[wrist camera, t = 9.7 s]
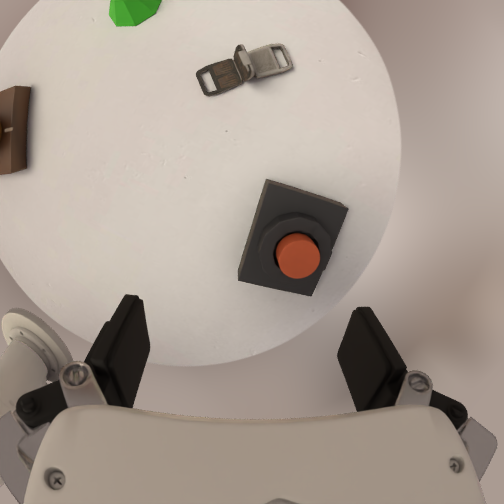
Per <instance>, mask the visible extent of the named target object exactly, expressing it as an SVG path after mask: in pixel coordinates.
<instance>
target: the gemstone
mask: <svg viewBox="0 0 504 504" xmlns="http://www.w3.org/2000/svg"><path fill="white" fill-rule="evenodd" d="M160 2H161V0H111V1H110V9H109V16H110V17H111V19H112V20H113V22H114V23H115V25H116V26H137V25H138V24H140V23H141V22H143V21H144V20H146V19H147V18H149V17H151V16H152V15H154V14H156V11H157V9H158V7H159V5H160Z"/></svg>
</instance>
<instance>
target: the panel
mask: <svg viewBox="0 0 504 504" xmlns="http://www.w3.org/2000/svg"><path fill="white" fill-rule="evenodd" d="M30 89H31V87H26V86H13V87H11V88H8V89H6V90H3V91H1V92H0V122H1V128H2V132H1V139H0V175H2V174H11V173H14V172H17V171H20V170H23V169H26V168H27V163H26V141H27V119H28V106H29V97H30Z"/></svg>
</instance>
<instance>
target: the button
mask: <svg viewBox="0 0 504 504" xmlns="http://www.w3.org/2000/svg"><path fill="white" fill-rule="evenodd" d="M276 257H277V260H278V263H279V267H280V269H281V271H282V272H283V273H284V274H285V275H287V276H288V277H291V278H297V279H298V278H304V277H307V276H309V275H310V274H312V273H313V272H314V271H315V270H316V268H317V267H318V265H319V262H320V253H319V250H318V248H317V247H316V245H315V244H314V242H313V241H312V239H311V238H310V237H308V236H307V235H305V234H301V233H293V234H290V235H287V236H286V237H284V238H283V239H282V240H281V241H280V242H279V244H278V246H277V249H276Z"/></svg>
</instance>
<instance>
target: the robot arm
mask: <svg viewBox="0 0 504 504" xmlns="http://www.w3.org/2000/svg"><path fill="white" fill-rule="evenodd" d="M9 341H10V345H9V346H8V347H7V349H6V350H5V351H4V353H3V354H2V356H1V357H0V486H2V485H3V484H4V483H5V484H6V486H7V487H8V489H9V490H10V492H11V493H12V494H13V496H14V497H15V498H16V500H17V501H18V502H19V504H486V502H485V498H484V495H483V492H482V488H481V486H480V483H479V482H480V480H481V478H482V476H483V475H484V473H485V471H486V469H487V467H488V465H489V463H490V461H491V459H492V457H493V455H494V453H495V451H496V448H497V440H496V437H495V436H494V435H493V434H492V433H491V432H489V431H488V430H487V429H486V428H484V427H483V426H482V425H481V424H479V423H478V422H477V421H476V420H474V419H473V418H472V417H470V418H469V419H468V418H467V417H468V414H467V410H466V408H465V407H464V405H463V404H461V403H460V402H458V401H456V400H454V399H451V398H449V397H447V396H445V395H443V394H440V393H438V392H436V391H434V390H432V388H433V384H432V381H431V379H430V378H429V376H428V375H426V374H425V373H423V372H421V371H415V370H413V371H410V372H408V371H407V370H406V368H407V367H406V365H405V363H404V361H403V360H402V358H401V356H400V355H399V353H398V351H397V350H396V348H395V346H394V345H393V343H392V341H391V340H390V338H389V336H388V335H387V333H386V331H385V330H384V328H383V327H382V325H381V323H380V322H379V320H378V319H377V317H376V316H375V314H374V312H373V311H372V309H371V308H370V307H357V308H356V310H354V311H353V312H352V315H351V318H350V321H349V323H348V326H347V329H346V332H345V335H344V337H343V340H342V342H341V345H340V348H339V350H338V354H337V357H338V361H339V364H340V366H341V369H342V371H343V374H344V376H345V379H346V382H347V385H348V388H349V390H350V393H351V396H352V399H353V401H354V404H355V407H356V410H357V412H353V413H345V414H338V415H329V416H320V417H308V418H291V419H221V418H206V417H194V416H184V415H175V414H166V413H159V412H152V411H145V410H139V409H133V404H134V401H135V397H136V394H137V390H138V387H139V384H140V381H141V377H142V374H143V371H144V368H145V364H146V361H147V358H148V355H149V352H150V341H149V335H148V330H147V324H146V318H145V311H144V305H143V300H142V299H139V297H138V296H137V295H128V294H126V295H125V296H124V297H123V299H122V301H121V302H120V304H119V306H118V308H117V309H116V311H115V313H114V315H113V316H112V318H111V320H110V321H107V322H106V323H105V324H104V326H103V327H102V329H101V331H100V333H99V335H98V336H97V338H96V340H95V342H94V344H93V346H92V347H91V349H90V351H89V353H88V355H87V357H86V359H85V361H84V362H81V361H74V362H70V363H68V364H66V365H65V366H64V367H62V369H61V370H60V373H59V380H58V381H55V382H53V383H50V384H47V383H46V381H47V379H48V377H53V376H55V375H56V373H57V372H58V363H57V360H56V358H55V356H54V354H53V353H52V351H51V350H50V349H49V347H48V346H47V345H46V344H45V343H44V342H43V341H42V340H41V339H40V338H39V337H38V336H37V335H35V334H34V333H33V332H31V331H30V330H28V329H26V328H23V327H19V326H16V327H13V328H12V329H11V331H10V332H9Z"/></svg>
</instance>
